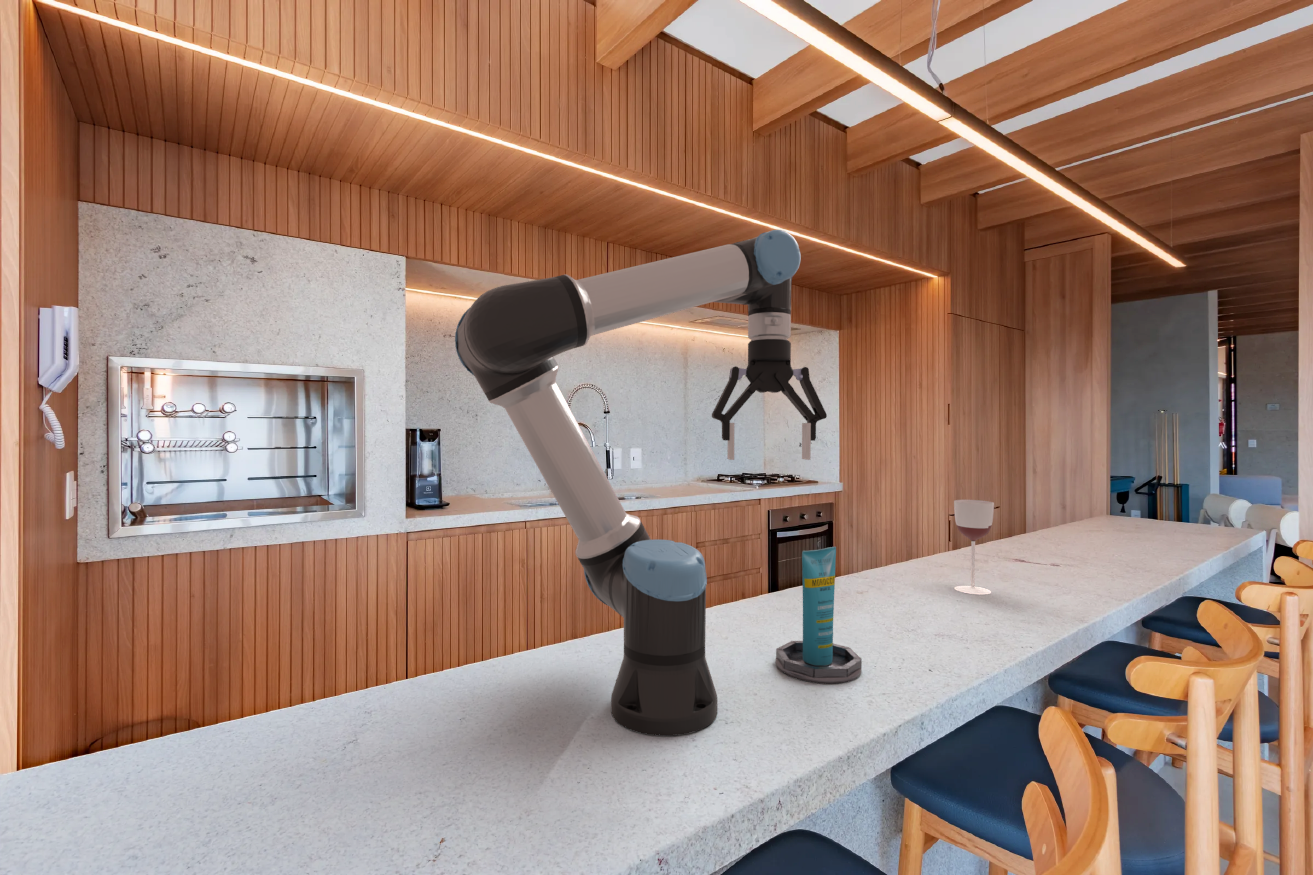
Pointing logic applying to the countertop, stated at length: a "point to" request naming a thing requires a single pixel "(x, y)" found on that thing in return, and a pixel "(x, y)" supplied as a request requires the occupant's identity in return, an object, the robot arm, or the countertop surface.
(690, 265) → the robot arm
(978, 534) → the wineglass
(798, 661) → the octagonal bowl
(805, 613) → the tube
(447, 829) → the countertop surface
